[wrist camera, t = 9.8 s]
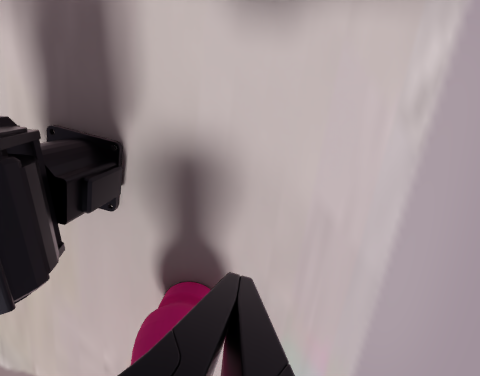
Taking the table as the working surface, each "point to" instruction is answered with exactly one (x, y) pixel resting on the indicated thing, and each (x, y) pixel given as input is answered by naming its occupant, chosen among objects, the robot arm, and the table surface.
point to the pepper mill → (167, 315)
